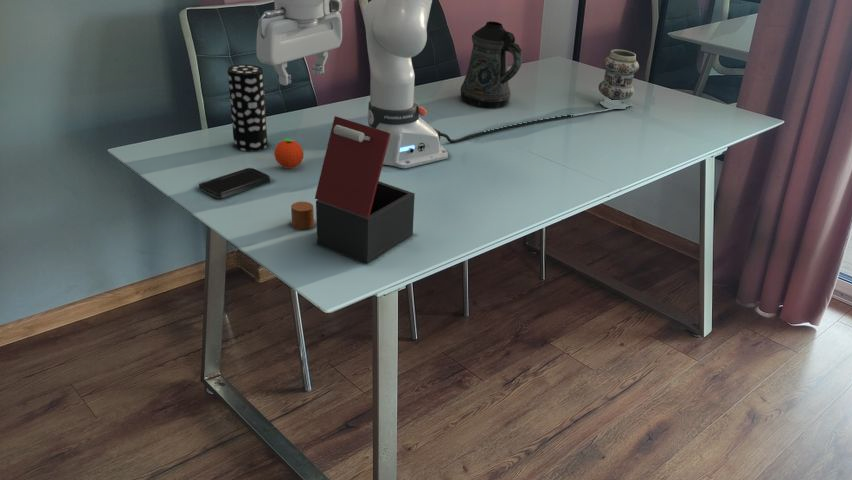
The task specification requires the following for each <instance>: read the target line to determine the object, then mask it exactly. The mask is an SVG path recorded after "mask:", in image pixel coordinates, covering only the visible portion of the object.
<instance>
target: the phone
mask: <svg viewBox="0 0 852 480" xmlns="http://www.w3.org/2000/svg"><path fill="white" fill-rule="evenodd" d="M268 183H271V176H270V175H269V174H266V173H264V172H262V171H260V170H258V169H256V168H253V167H247V168H243V169H240V170H237V171H234V172H230V173H228V174H225V175H224V174H223V175H221V176H218V177H215V178H212V179H208V180H206V181H202V182H200V183H198V189H199V191H201V192H203V193H204V194H207V195H208V196H211V197H213V198H215V199H219V200H221V199H224V198H229V197H231V196H234V195H236V194H239V193H242V192H245V191H248V190H251V189H254V188H257V187H260V186H262V185H266V184H268Z"/></svg>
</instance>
